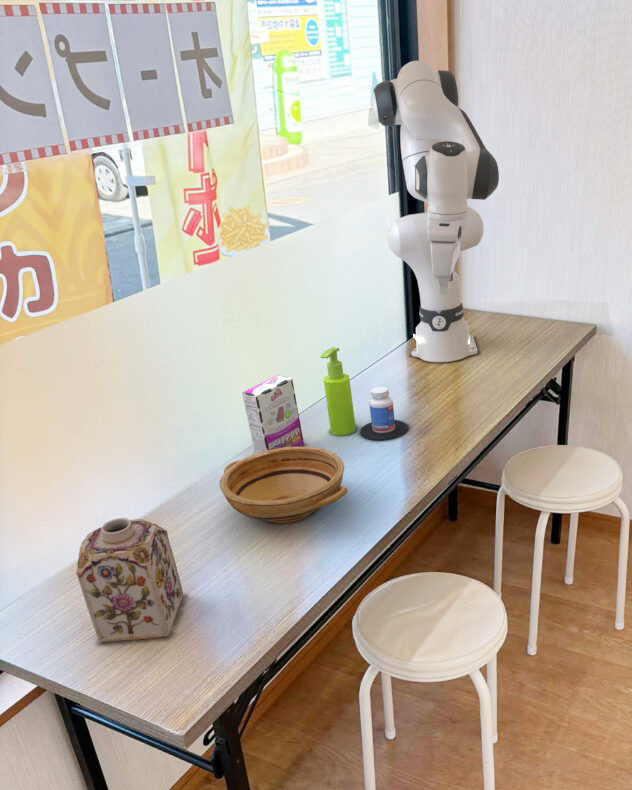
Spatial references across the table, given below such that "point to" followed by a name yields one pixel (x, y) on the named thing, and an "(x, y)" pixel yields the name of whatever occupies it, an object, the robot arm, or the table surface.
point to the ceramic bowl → (283, 483)
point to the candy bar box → (273, 415)
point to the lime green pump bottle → (338, 396)
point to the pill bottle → (381, 410)
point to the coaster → (397, 432)
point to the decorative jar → (129, 580)
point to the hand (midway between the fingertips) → (447, 286)
